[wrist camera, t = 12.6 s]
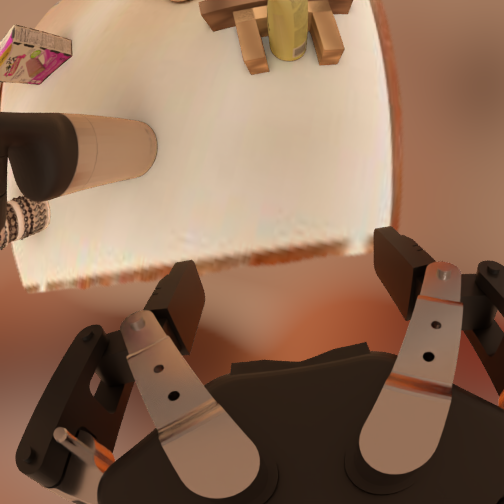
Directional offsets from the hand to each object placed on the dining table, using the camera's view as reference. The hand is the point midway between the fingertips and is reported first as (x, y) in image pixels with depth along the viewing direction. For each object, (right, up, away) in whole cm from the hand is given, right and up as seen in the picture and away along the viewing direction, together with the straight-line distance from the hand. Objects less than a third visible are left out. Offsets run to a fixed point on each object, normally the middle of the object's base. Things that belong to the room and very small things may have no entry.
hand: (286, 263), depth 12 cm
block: (+4, +29, +17) cm, 34 cm away
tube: (+4, +29, +17) cm, 34 cm away
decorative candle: (-46, +9, +32) cm, 57 cm away
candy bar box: (-41, +39, +21) cm, 60 cm away
